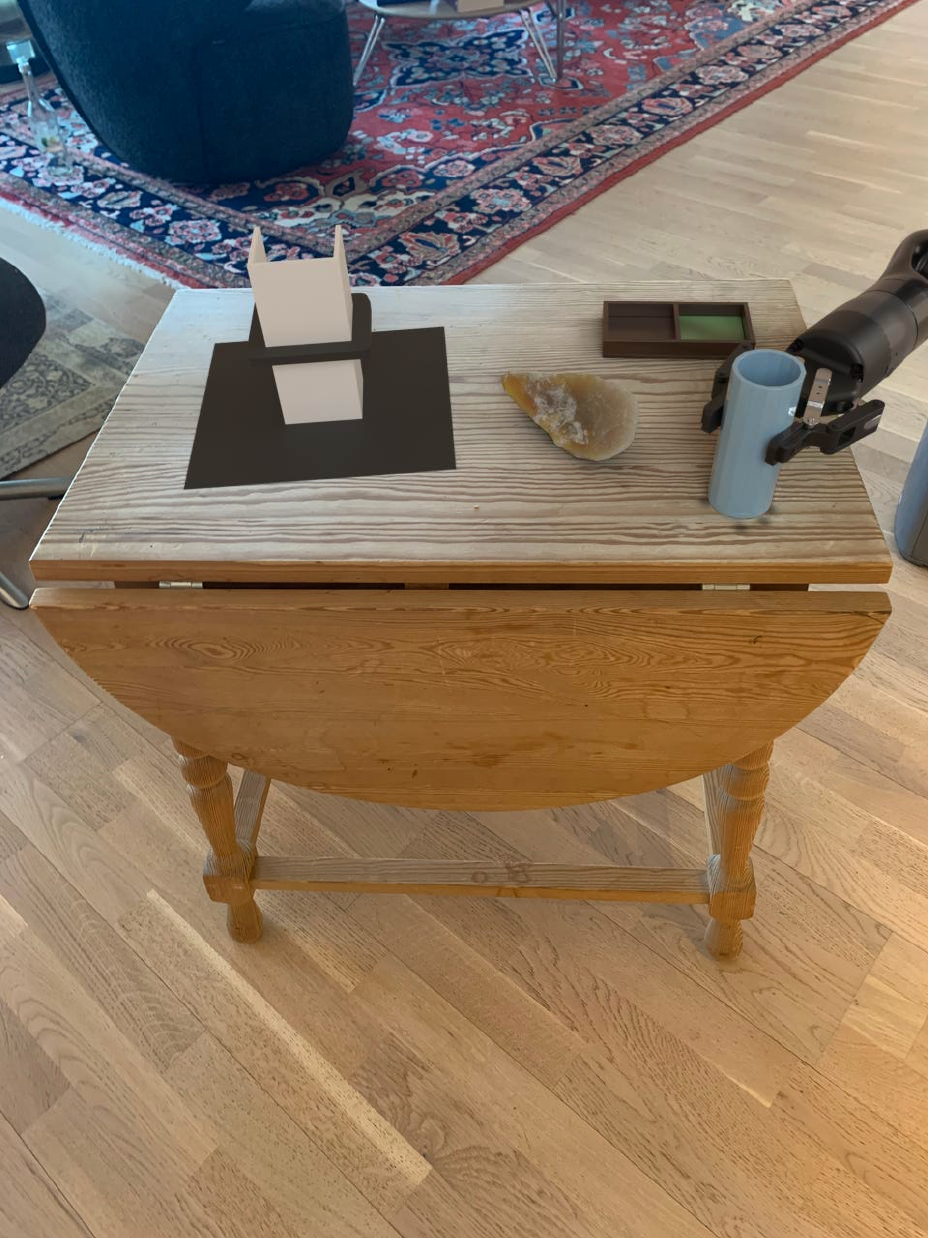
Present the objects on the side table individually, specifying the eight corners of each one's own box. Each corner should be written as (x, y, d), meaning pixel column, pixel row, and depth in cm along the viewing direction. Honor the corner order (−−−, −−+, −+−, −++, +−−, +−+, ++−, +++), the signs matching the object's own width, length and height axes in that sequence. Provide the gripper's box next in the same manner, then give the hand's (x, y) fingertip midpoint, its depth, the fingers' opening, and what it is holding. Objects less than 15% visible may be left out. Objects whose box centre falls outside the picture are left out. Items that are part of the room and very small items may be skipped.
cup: (750, 471, 82) (780, 342, 73) (783, 509, 79) (820, 379, 69) (696, 486, 81) (719, 358, 72) (727, 525, 78) (756, 395, 68)
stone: (634, 411, 78) (487, 352, 84) (615, 478, 82) (475, 417, 87) (667, 390, 83) (526, 335, 89) (647, 453, 87) (513, 397, 93)
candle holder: (444, 326, 101) (433, 172, 88) (456, 469, 85) (445, 305, 72) (214, 343, 101) (172, 191, 88) (183, 489, 84) (126, 328, 72)
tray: (602, 317, 100) (603, 300, 99) (744, 318, 99) (748, 301, 97) (602, 357, 95) (603, 340, 94) (752, 360, 94) (756, 342, 92)
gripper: (789, 282, 81) (670, 363, 74) (944, 342, 74) (830, 439, 67) (771, 356, 87) (659, 439, 80) (915, 419, 80) (806, 516, 72)
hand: (738, 438), depth 73 cm, fingers closed on cup, 5 cm apart
